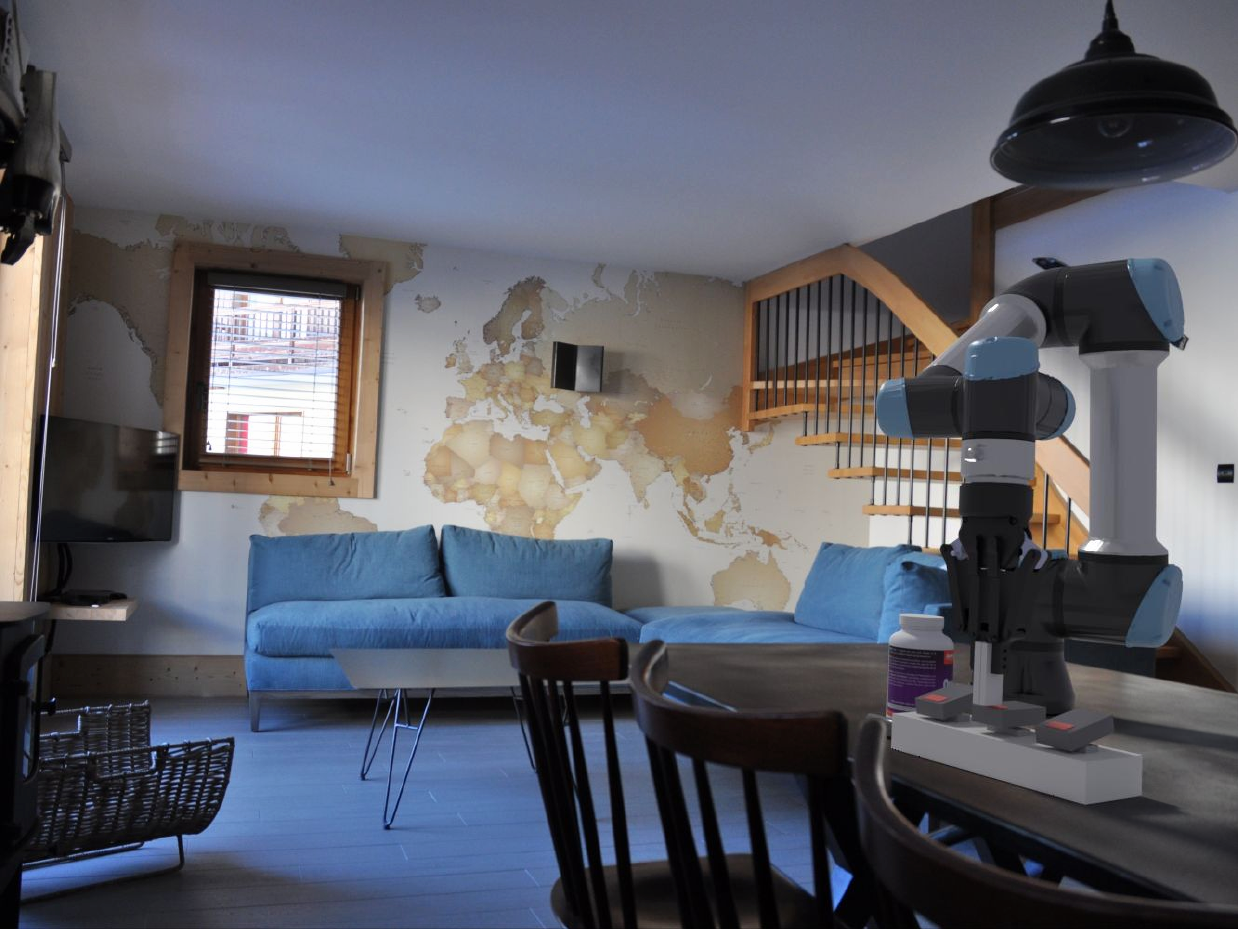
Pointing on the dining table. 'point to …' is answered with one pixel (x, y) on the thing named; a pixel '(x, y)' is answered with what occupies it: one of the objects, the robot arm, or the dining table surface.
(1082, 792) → the power strip
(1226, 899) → the dining table surface
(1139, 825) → the dining table surface
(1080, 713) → the rocker
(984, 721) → the rocker
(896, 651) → the pill bottle
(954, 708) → the rocker
